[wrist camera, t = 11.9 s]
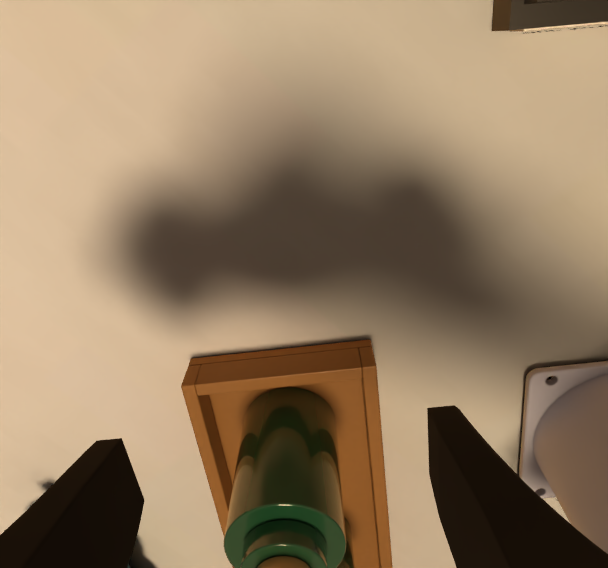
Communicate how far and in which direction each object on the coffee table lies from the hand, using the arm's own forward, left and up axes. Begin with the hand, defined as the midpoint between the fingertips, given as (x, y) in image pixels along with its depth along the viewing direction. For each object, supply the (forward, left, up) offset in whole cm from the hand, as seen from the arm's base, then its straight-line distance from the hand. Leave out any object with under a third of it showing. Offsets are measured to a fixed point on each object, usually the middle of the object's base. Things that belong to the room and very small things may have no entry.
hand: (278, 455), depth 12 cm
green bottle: (+1, +8, -10) cm, 12 cm away
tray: (+1, +15, -10) cm, 18 cm away
